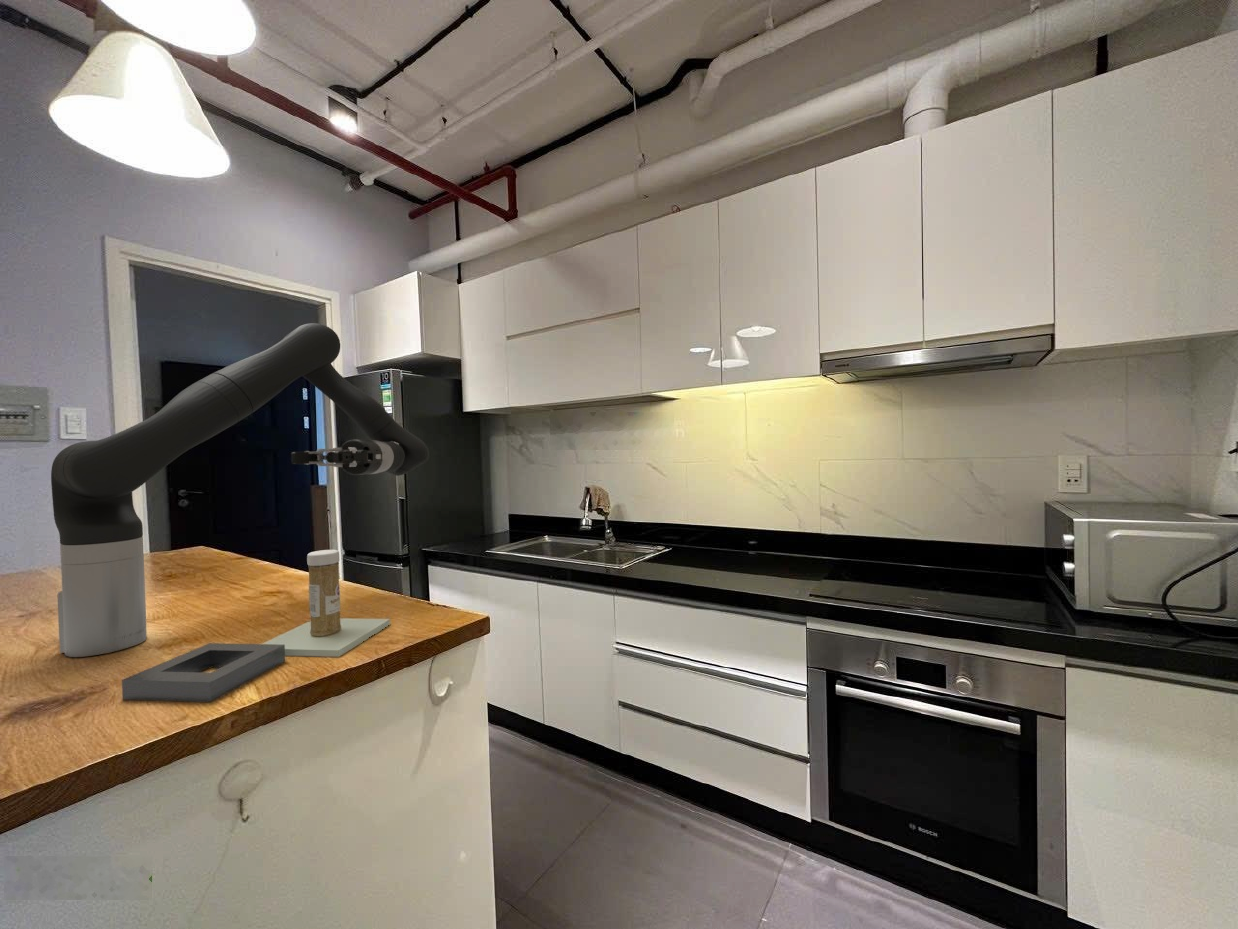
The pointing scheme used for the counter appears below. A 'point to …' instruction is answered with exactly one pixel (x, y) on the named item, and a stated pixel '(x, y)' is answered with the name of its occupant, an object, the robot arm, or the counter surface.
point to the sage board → (329, 638)
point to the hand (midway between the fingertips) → (314, 457)
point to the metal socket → (189, 685)
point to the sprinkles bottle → (324, 592)
